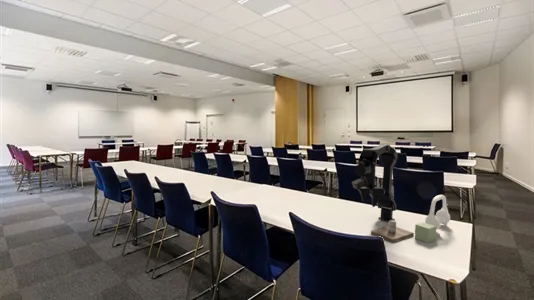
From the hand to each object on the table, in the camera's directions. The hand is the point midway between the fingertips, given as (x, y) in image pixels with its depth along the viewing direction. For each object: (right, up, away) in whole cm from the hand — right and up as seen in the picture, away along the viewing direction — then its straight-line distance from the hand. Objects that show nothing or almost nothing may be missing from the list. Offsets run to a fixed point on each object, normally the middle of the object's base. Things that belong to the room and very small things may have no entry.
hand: (368, 204), depth 135 cm
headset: (+38, -14, +3) cm, 40 cm away
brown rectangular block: (+10, -14, -5) cm, 18 cm away
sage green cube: (+23, -15, -10) cm, 29 cm away
